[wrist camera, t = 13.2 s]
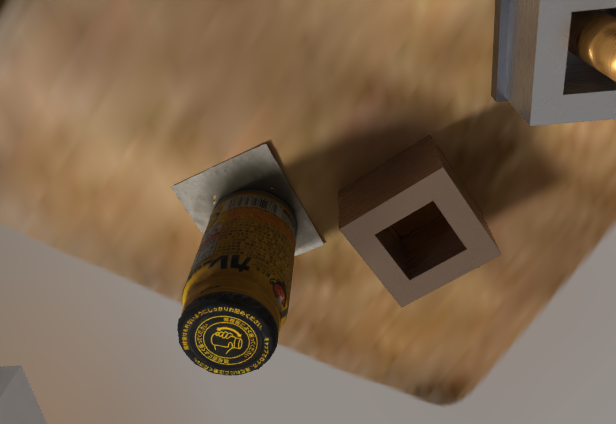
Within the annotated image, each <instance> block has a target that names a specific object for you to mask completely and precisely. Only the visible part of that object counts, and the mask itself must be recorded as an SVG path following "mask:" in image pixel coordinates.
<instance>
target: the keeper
mask: <svg viewBox="0 0 616 424" xmlns="http://www.w3.org/2000/svg"><path fill="white" fill-rule="evenodd" d="M509 8H510V0H495V21H494V43H493V66H492V89H491V96H492V97H493V98H494V100H495V101H496V102H498V101H508V100H507V99H506V98H505V97H504V96H505V79H506V61H507V43H508V26H509ZM611 12H612V8H606V9H596V10H586V11H576V12H572V13H571V23H570V32H569V42H568V51H567V61H566V66H570V65H581V64H589V65H591V66H592V67H594V68H595V69H597V70H598V71H600V72H601V73H603V74H604V75H606V76H607V77H609V78H611V79H612V80H614V81H615V82H616V17H614V16H612V15H611Z"/></svg>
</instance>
